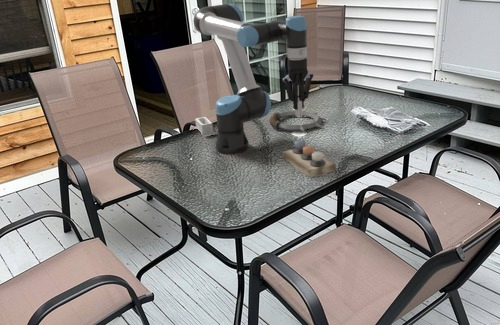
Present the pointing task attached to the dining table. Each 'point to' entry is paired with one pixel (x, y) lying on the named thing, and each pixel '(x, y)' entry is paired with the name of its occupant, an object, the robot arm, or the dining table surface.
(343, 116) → the dining table surface
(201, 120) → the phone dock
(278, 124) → the spiked ring
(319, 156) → the button cream
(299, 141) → the button slate
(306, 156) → the button panel
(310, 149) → the button terracotta
